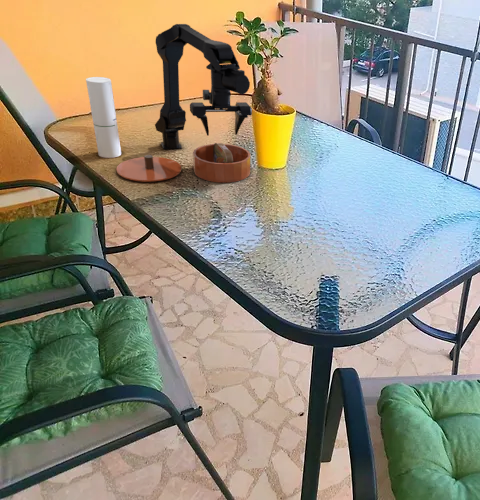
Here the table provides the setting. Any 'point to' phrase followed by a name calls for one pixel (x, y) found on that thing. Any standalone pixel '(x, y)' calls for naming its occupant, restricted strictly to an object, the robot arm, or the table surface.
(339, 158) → the table surface
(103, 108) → the cylindrical container
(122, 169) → the lid
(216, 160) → the tin
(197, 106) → the robot arm
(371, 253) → the table surface
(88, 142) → the table surface
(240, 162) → the pot
